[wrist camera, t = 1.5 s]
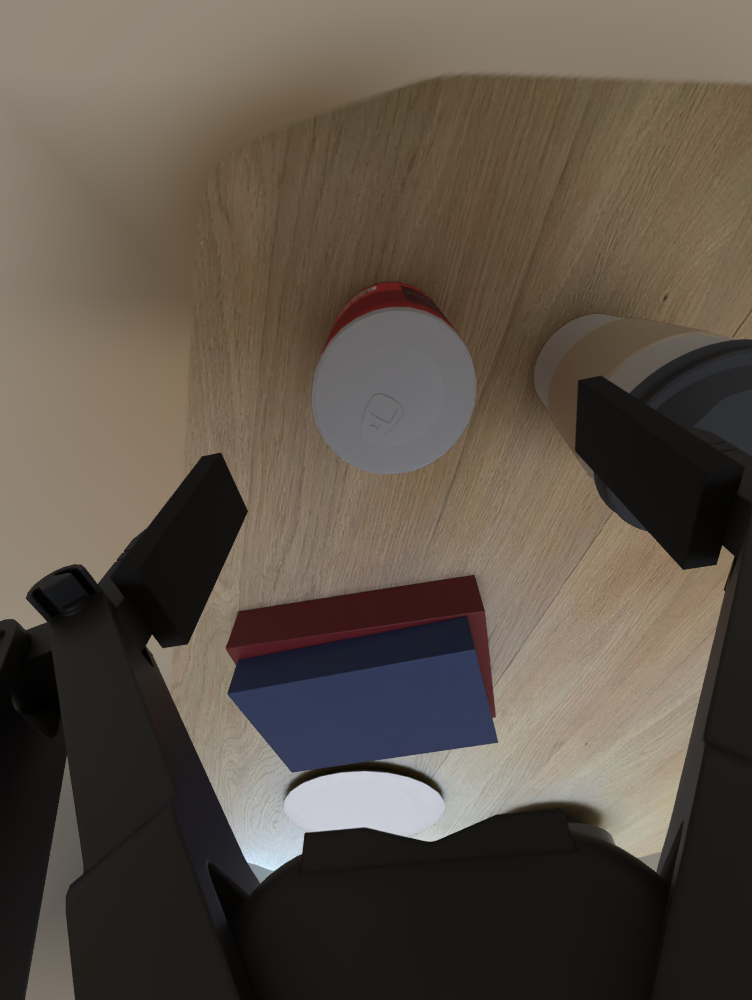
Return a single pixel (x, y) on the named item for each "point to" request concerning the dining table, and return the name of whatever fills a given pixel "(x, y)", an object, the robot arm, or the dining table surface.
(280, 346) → the dining table surface
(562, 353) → the coffee cup
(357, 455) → the canned food
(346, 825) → the plate
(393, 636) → the book stack
